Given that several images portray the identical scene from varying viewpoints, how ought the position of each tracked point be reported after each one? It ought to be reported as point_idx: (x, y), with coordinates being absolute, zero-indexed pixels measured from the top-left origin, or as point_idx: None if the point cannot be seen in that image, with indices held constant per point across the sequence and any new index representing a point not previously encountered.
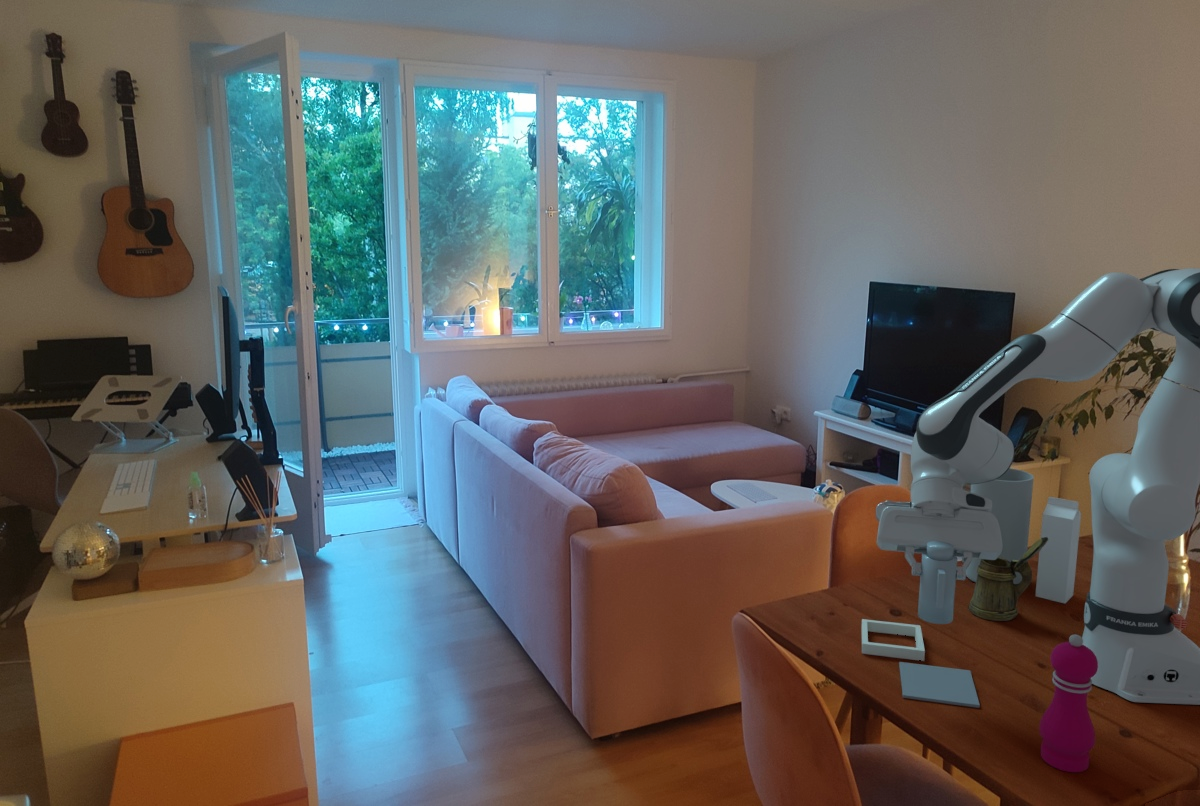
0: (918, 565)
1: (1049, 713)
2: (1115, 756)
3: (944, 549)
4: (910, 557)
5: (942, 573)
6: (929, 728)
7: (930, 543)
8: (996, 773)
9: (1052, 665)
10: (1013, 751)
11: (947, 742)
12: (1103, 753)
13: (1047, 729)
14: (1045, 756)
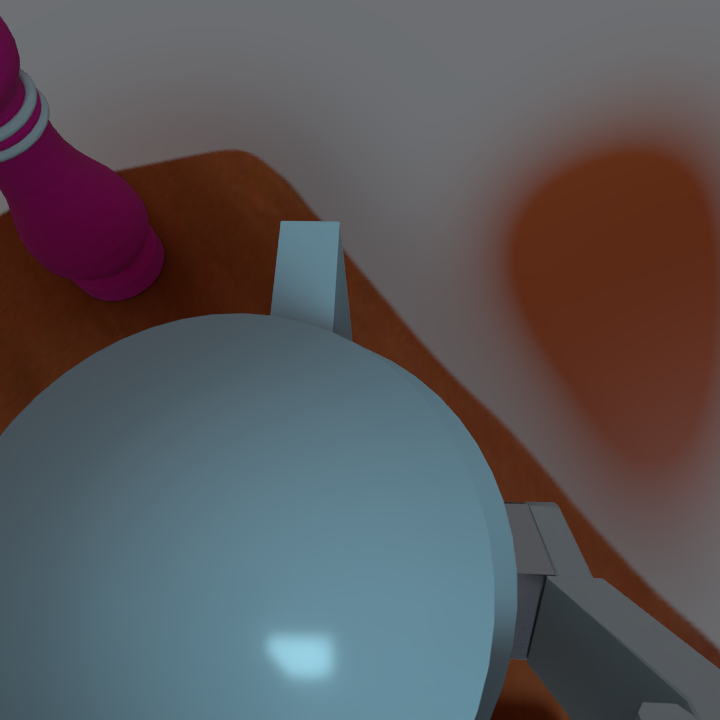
0: (513, 544)
1: (105, 183)
2: (3, 299)
3: (187, 341)
4: (648, 625)
5: (308, 225)
6: (382, 314)
7: (414, 665)
8: (272, 194)
9: (17, 58)
10: (215, 269)
11: (349, 270)
12: (23, 304)
13: (131, 191)
14: (158, 239)
